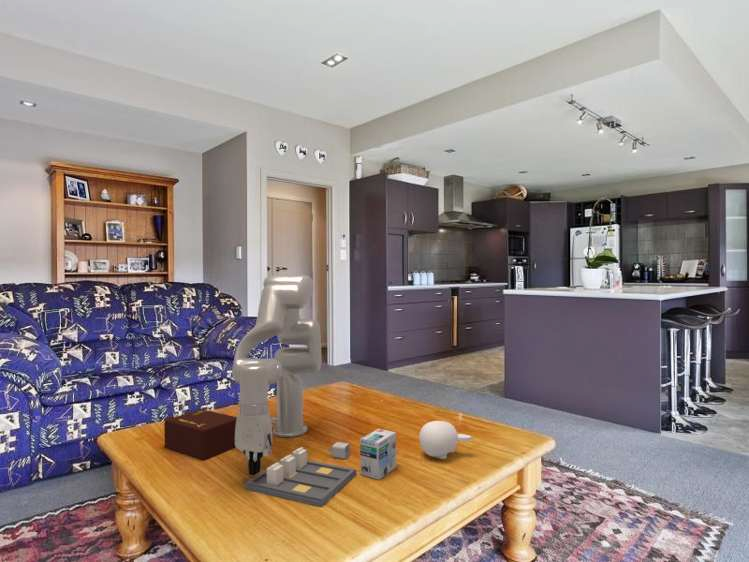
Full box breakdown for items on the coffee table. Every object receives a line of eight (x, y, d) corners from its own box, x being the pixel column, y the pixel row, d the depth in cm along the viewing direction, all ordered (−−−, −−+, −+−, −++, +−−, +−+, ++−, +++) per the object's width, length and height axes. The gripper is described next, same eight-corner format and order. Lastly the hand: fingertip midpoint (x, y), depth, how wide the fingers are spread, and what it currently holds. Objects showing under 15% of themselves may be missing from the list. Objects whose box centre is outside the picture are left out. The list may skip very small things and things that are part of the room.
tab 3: (292, 467, 133) (292, 450, 133) (298, 462, 137) (298, 446, 136) (300, 468, 132) (300, 451, 132) (306, 464, 135) (306, 447, 135)
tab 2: (280, 475, 128) (279, 457, 128) (287, 470, 131) (286, 453, 131) (288, 477, 127) (288, 459, 127) (295, 472, 130) (295, 455, 130)
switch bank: (245, 489, 123) (245, 482, 123) (287, 461, 141) (287, 455, 141) (321, 507, 113) (321, 500, 113) (356, 474, 131) (356, 468, 131)
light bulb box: (379, 480, 127) (378, 442, 127) (359, 475, 131) (359, 438, 131) (397, 467, 136) (397, 431, 136) (378, 462, 140) (378, 427, 140)
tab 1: (266, 484, 122) (266, 466, 122) (274, 479, 126) (274, 461, 126) (275, 486, 121) (275, 468, 121) (283, 481, 124) (283, 463, 124)
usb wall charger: (344, 460, 142) (344, 447, 142) (325, 457, 144) (325, 444, 144) (349, 455, 146) (349, 443, 146) (330, 452, 148) (330, 440, 148)
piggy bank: (429, 470, 138) (465, 462, 146) (438, 436, 135) (475, 431, 143) (407, 445, 148) (442, 440, 156) (415, 414, 145) (451, 410, 153)
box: (244, 444, 156) (243, 416, 156) (204, 461, 142) (203, 430, 142) (204, 434, 167) (204, 407, 167) (164, 448, 153) (163, 419, 153)
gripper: (223, 408, 126) (224, 474, 126) (267, 415, 120) (267, 483, 120) (242, 402, 133) (242, 463, 133) (283, 407, 126) (284, 472, 127)
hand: (254, 473), depth 126 cm, fingers closed
